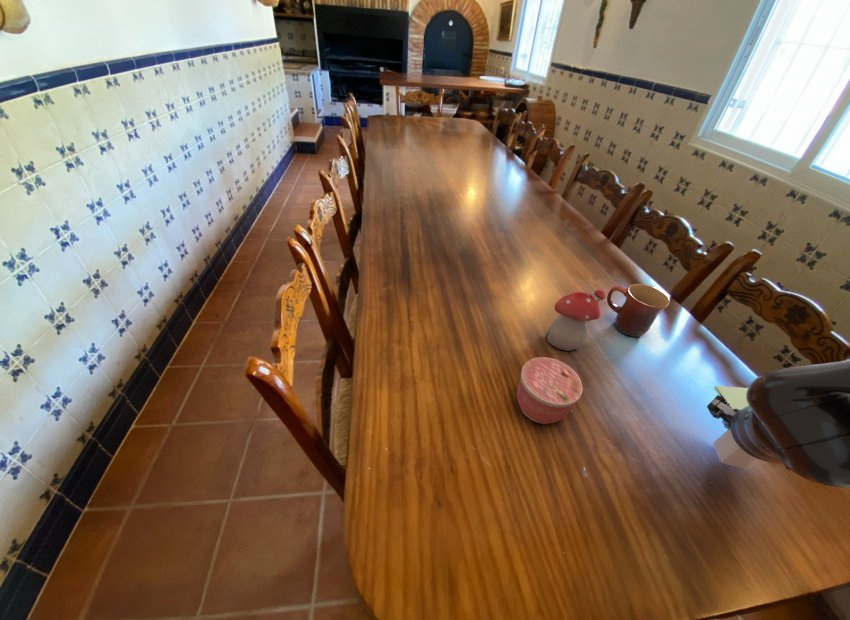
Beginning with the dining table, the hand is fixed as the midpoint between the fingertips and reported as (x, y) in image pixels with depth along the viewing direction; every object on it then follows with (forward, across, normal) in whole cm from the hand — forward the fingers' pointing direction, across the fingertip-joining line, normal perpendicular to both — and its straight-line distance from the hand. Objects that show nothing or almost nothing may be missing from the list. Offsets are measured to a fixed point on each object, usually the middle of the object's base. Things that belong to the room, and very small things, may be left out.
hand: (749, 436), depth 59 cm
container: (-11, +25, +19) cm, 33 cm away
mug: (+14, +30, -6) cm, 34 cm away
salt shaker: (+2, 0, +5) cm, 5 cm away
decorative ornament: (+1, +34, +6) cm, 34 cm away
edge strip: (+13, 0, -5) cm, 13 cm away
